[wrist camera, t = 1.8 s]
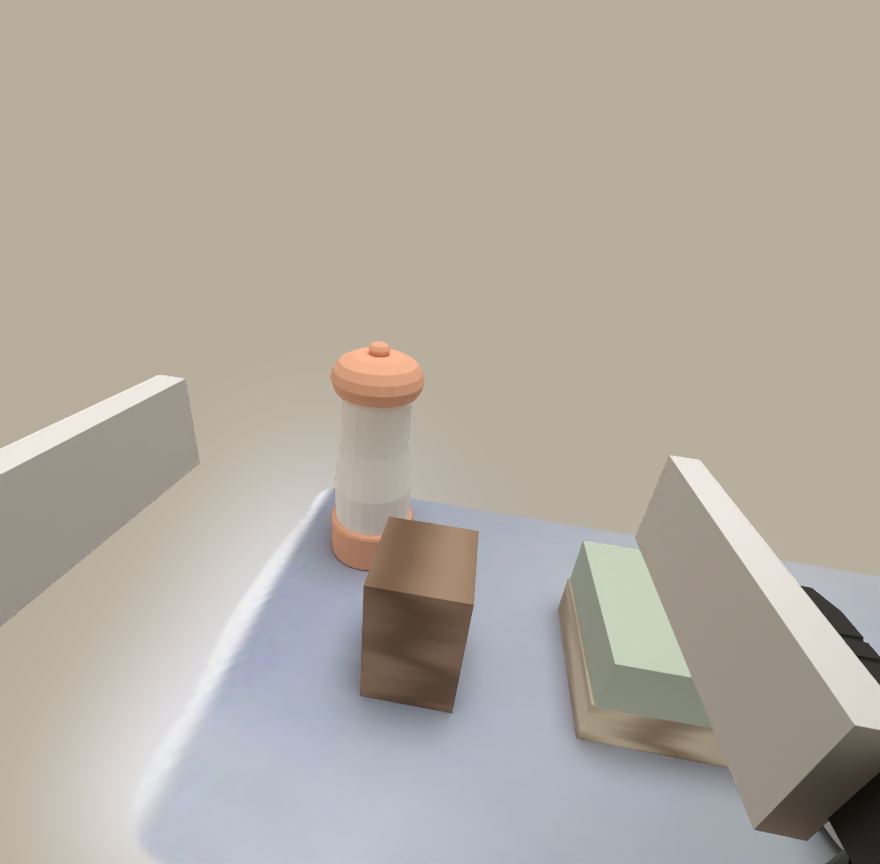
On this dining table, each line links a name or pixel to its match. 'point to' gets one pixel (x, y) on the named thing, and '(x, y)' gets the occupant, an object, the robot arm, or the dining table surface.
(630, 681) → the tower top block
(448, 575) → the walnut block
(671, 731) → the tower bottom block
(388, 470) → the pepper shaker
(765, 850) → the dining table surface
